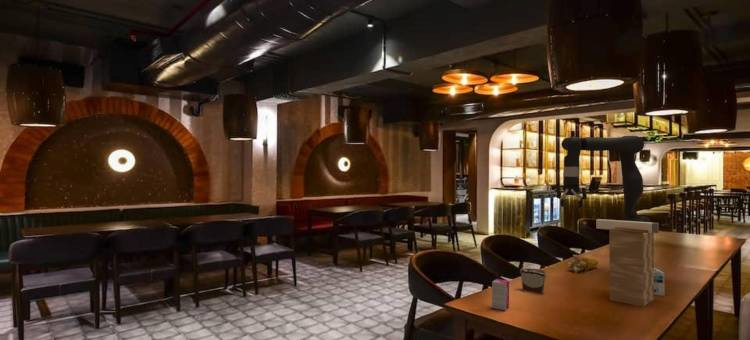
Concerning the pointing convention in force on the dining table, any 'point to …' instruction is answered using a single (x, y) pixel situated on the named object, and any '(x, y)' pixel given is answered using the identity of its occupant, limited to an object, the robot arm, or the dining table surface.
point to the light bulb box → (659, 282)
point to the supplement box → (500, 295)
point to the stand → (631, 266)
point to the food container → (533, 280)
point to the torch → (582, 263)
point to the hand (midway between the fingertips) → (571, 207)
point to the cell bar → (627, 225)
